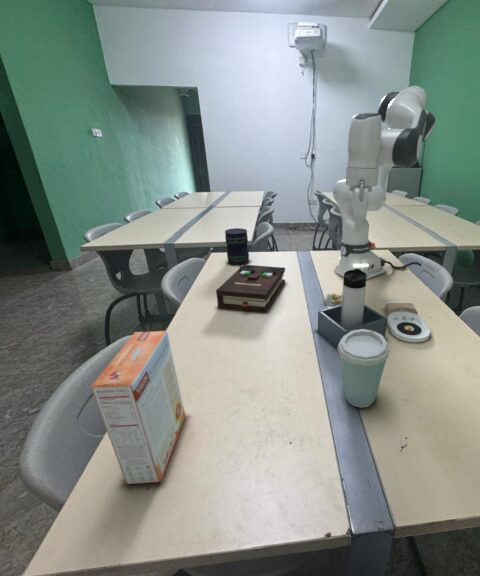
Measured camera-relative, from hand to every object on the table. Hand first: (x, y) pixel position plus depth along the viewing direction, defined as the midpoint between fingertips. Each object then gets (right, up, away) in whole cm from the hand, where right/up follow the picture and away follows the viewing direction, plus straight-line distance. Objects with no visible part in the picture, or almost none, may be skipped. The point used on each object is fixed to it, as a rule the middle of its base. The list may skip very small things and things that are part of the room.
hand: (357, 228), depth 93 cm
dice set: (-4, -23, +21) cm, 31 cm away
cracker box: (-41, -47, -36) cm, 72 cm away
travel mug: (-2, -32, 0) cm, 32 cm away
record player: (+16, -30, +7) cm, 34 cm away
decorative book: (-35, -20, +24) cm, 47 cm away
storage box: (-2, -32, 0) cm, 32 cm away
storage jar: (-50, -6, +56) cm, 75 cm away
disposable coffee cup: (-3, -42, -23) cm, 48 cm away
